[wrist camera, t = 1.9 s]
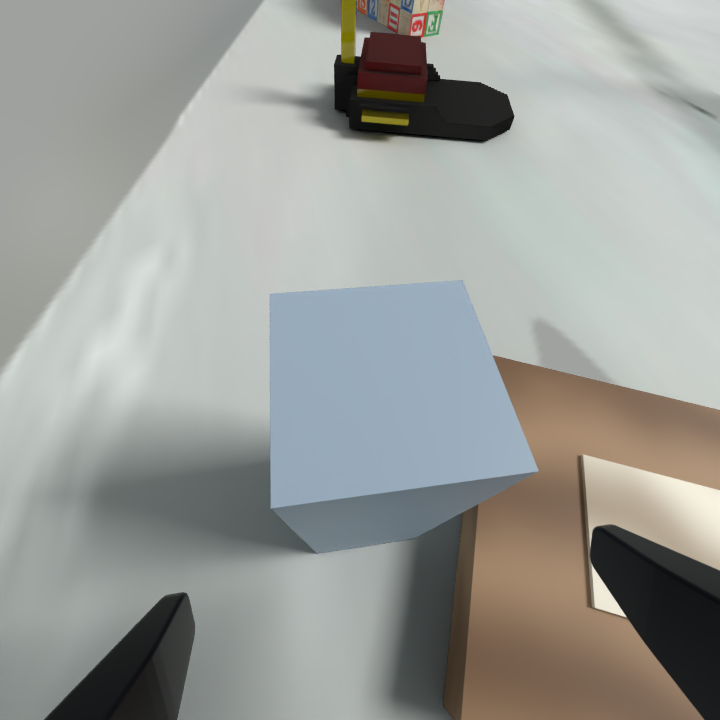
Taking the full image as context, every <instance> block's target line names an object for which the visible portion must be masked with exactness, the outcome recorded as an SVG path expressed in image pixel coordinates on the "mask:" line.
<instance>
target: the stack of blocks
mask: <svg viewBox="0 0 720 720" xmlns="http://www.w3.org/2000/svg"><path fill="white" fill-rule="evenodd" d="M444 1H445V0H357V10H359V11H360V12H362V13H363V14H365V15H367V16H369V17H371V18H372V19H374V20H376V21H378V22H379V23H381V24H383V25H385V26H386V27H388V28H389V29H391V30H393V31H394V32H396V33H398V34H400V35H411V36H421V37H426V36H431V35H437V34H439V29H440V24H441V19H442V13H443V6H444Z"/></svg>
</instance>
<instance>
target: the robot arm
mask: <svg viewBox="0 0 720 720" xmlns="http://www.w3.org/2000/svg"><path fill="white" fill-rule="evenodd" d="M590 560H591V563H592V565H593V567H594V569H595V571H596V572H597V574H598V575H599V577H600V578H601V580H602V581H603V583H604V584H605V586H606V587H607V589H608V590H609V592H610V593H611V595H612V596H613V598H614V599H615V600H616V602H617V603H618V605H619V606H620V608H621V609H622V611H623V612H624V614H625V615H626V617H627V618H628V620H629V621H630V623H631V624H632V626H633V627H634V629H635V630H636V632H637V633H638V635H639V636H640V637H641V639H642V640H643V642H644V643H645V644H646V646H647V647H648V648H649V650H650V651H651V652H652V654H653V655H654V656H655V657H656V659H657V660H658V661H659V663H660V664H661V665H662V666H663V668H664V669H665V670H666V672H667V673H668V674H669V675H670V677H671V678H672V679H673V680H674V682H675V683H676V684H677V686H678V687H679V688H680V689H681V691H682V692H683V693H684V695H685V696H686V697H687V698H688V700H689V701H690V702H691V704H692V705H693V706H694V707H695V709H696V710H697V711H698V713H699V714H700V715H701V716H702V718H703V719H704V720H720V570H718V569H716V568H713V567H711V566H709V565H706V564H704V563H702V562H699V561H697V560H695V559H692V558H690V557H688V556H685V555H683V554H681V553H679V552H676V551H674V550H672V549H669V548H667V547H665V546H662V545H660V544H658V543H655V542H653V541H651V540H648V539H646V538H644V537H641V536H639V535H637V534H635V533H632V532H630V531H628V530H625V529H623V528H621V527H618V526H616V525H613V524H608V525H601V526H596V527H595V528H594V529H593V531H592V538H591V547H590ZM194 635H195V622H194V618H193V613H192V609H191V604H190V600H189V596H188V595H187V593H184V592H182V593H176V594H169V595H166V596H164V597H163V598H162V599H161V600H160V601H159V602H158V603H157V604H156V605H155V606H154V607H153V608H152V609H151V610H150V611H149V612H148V613H147V614H146V615H145V616H144V617H143V618H142V619H141V620H140V621H139V622H138V623H137V624H136V625H135V626H134V627H133V628H132V629H131V630H130V631H129V633H128V634H127V635H126V636H125V637H124V638H123V639H122V640H121V641H120V642H119V643H118V644H117V645H116V646H115V647H114V648H113V649H112V650H111V651H110V652H109V653H108V654H107V655H106V656H105V657H104V658H103V659H102V660H101V661H100V662H99V663H98V664H97V665H96V667H95V668H94V669H93V670H92V671H91V672H90V673H89V674H88V675H87V676H86V677H85V678H84V679H83V680H82V681H81V682H80V683H79V684H78V685H77V686H76V687H75V688H74V689H73V690H72V691H71V692H70V693H69V694H68V695H67V696H66V697H65V698H64V700H63V701H62V702H61V703H60V704H59V705H58V706H57V707H56V708H55V709H54V710H53V711H52V712H51V713H50V714H49V715H48V716H47V717H46V718H45V719H44V720H177V718H178V713H179V708H180V703H181V699H182V694H183V689H184V684H185V679H186V674H187V670H188V665H189V660H190V655H191V650H192V645H193V641H194Z"/></svg>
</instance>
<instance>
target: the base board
mask: <svg viewBox="0 0 720 720" xmlns="http://www.w3.org/2000/svg"><path fill="white" fill-rule="evenodd" d="M493 358H494V360H495V363H496V365H497V368H498V370H499V373H500V375H501V378H502V380H503V383H504V385H505V388H506V390H507V393H508V395H509V398H510V400H511V403H512V405H513V408H514V410H515V413H516V415H517V418H518V420H519V423H520V425H521V428H522V430H523V433H524V435H525V438H526V440H527V443H528V445H529V448H530V450H531V453H532V455H533V458H534V460H535V463H536V465H537V468H538V470H539V472H537V473H535V474H533V475H531V476H529V477H527V478H526V479H524V480H522V481H520V482H518V483H516V484H514V485H513V486H511V487H509V488H507V489H505V490H503V491H501V492H500V493H498V494H496V495H494V496H492V497H490V498H489V499H487V500H485V501H483V502H481V503H479V504H477V505H476V506H474V507H472V508H470V509H468V510H466V511H464V512H463V513H462V522H461V532H460V542H459V552H458V561H457V571H456V581H455V591H454V601H453V610H452V620H451V630H450V640H449V649H448V659H447V669H446V679H445V688H444V698H443V706H444V708H445V709H446V710H447V711H448V713H449V714H450V715H451V716H452V718H453V719H454V720H704V719H703V718H702V716H701V715H700V714H699V713H698V711H697V710H696V709H695V707H694V706H693V705H692V704H691V702H690V701H689V700H688V698H687V697H686V696H685V695H684V693H683V692H682V691H681V689H680V688H679V687H678V686H677V684H676V683H675V682H674V680H673V679H672V678H671V677H670V675H669V674H668V673H667V672H666V670H665V669H664V668H663V666H662V665H661V664H660V663H659V661H658V660H657V659H656V657H655V656H654V655H653V654H652V652H651V651H650V650H649V648H648V647H647V646H646V644H645V643H644V642H643V640H642V639H641V637H640V636H639V635H638V633H637V632H636V630H635V629H634V627H633V626H632V624H631V623H630V621H629V620H628V618H627V617H626V615H625V614H624V612H623V611H622V609H621V608H620V606H619V605H618V603H617V602H616V600H615V599H614V598H613V596H612V595H611V593H610V592H609V590H608V589H607V587H606V586H605V584H604V583H603V581H602V580H601V578H600V577H599V575H598V574H597V572H596V571H595V569H594V567H593V565H592V563H591V560H590V547H591V538H592V531H593V529H594V528H595V527H596V526H601V525H608V524H613V525H616V526H618V527H621V528H623V529H625V530H628V531H630V532H632V533H635V534H637V535H639V536H641V537H644V538H646V539H648V540H651V541H653V542H655V543H658V544H660V545H662V546H665V547H667V548H669V549H672V550H674V551H676V552H679V553H681V554H683V555H685V556H688V557H690V558H692V559H695V560H697V561H699V562H702V563H704V564H706V565H709V566H711V567H713V568H716V569H718V570H720V410H717V409H713V408H709V407H705V406H701V405H696V404H692V403H688V402H684V401H680V400H676V399H672V398H667V397H663V396H659V395H655V394H651V393H647V392H643V391H638V390H634V389H630V388H626V387H622V386H618V385H614V384H609V383H605V382H601V381H597V380H592V379H589V378H584V377H580V376H576V375H572V374H567V373H564V372H559V371H556V370H551V369H547V368H543V367H539V366H535V365H531V364H526V363H522V362H518V361H514V360H510V359H506V358H502V357H497V356H493Z"/></svg>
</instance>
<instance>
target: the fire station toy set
mask: <svg viewBox="0 0 720 720" xmlns="http://www.w3.org/2000/svg"><path fill="white" fill-rule="evenodd" d="M356 18H357V0H341V55H337V57H336V60H335V64H334V83H335V109H338V110H346V117H350V120H349V128H350V129H362V130H373V131H385V132H396V133H408V134H419V135H431V136H442V137H453V138H465V139H476V140H488V139H491V138H493V137H494V136H496V135H499V134H502V133H504V132H505V131H507V130H510V127H511V124H512V122H513V119H514V114H513V111H512V108H511V105H510V102H509V99H508V96H507V94H504V93H501V91H497V90H494V88H491V87H488V85H485V84H482V83H481V82H469V81H458V80H446V79H440V75H438V72H436V68H433V67H434V66H433V64H427V60H426V43H423V42H421V36H411V35H400V34H388V33H377V32H371V34H370V38H365V39H364V44H363V49H362V54H361V57H358V56H355V55H356Z"/></svg>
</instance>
